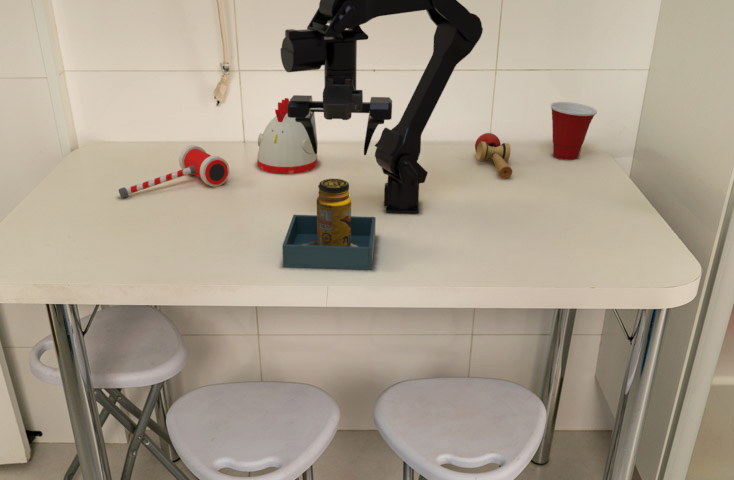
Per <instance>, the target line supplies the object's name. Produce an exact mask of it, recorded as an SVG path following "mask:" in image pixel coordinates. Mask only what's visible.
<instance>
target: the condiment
mask: <svg viewBox="0 0 734 480" xmlns="http://www.w3.org/2000/svg"><path fill="white" fill-rule="evenodd" d="M316 215H317V241H314V242H310V243H307V244H302V245H321V246H355V247H358V246H356V245H354V244H352V243H351V216H352V197H351V195H350V184H349V182H348V181H347V180H345V179H342V178H326V179H323V180H321V181H320V182H319V184H318V196H317V198H316Z"/></svg>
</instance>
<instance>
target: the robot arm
mask: <svg viewBox="0 0 734 480" xmlns="http://www.w3.org/2000/svg"><path fill="white" fill-rule="evenodd" d="M318 6H319V7H318V9H317V10H316V12H315V13H314V15H313V16H312V18H311V20H310V22H309V23H308V25H307V26H306V29H294V28H288V29H285V30H284V32H285V33H284V38H283V39H282V42H281V48H280V51H279V52H280V59H281V63H282V67H283V69H284V71H285V72H286V73H297V72H307V71H317V70H320V69H321V68H322V66H324V67H323V68H324V70H323V72H324V73H323V74H324V75H323V76H324V88H323V91H322V101H321V100H313V96H312V95H299V94H298V95H297V94H294V95H292V96H291V98H290V99H289V103H288V117H290V118H295V121H296V122H300V123H301V124H302V125H303V126H304V128H305V130H306V132H307V134H308V136H309V139H310V142H311V145H312V147H313V150H314V153H315V154H317V155H318V136H317V135H318V134H317V125H316V117H315V116H316V115H315V113H323V118H324V119H325V120H329V121H332V120H342V121H349V120H350V119H351V118H352V114H368V117H367V118H368V119H367V124H366V132H365V139H364V145H363V156H367V153H368V150H369V147H370V145H371V140H372V138H373V136H374V133H375V132H376V130H377V128H378V126H379V125H383V124H385V121H389V120H390V121H391V120H392V116H393V100H392V99H391V97H390V96H389V97H388V96H371V97H370V101H367V102H365V101H364V94H363V93H364V91H363V89H357V71H358V70H357V59H358V58H357V57H358V56H357V55H358V54H357V53H358V50H357V49H358V48H357V47H358V41H367V40H368V39H369V35H368V34H367V33H366V32H365V31H363V29H362V27H361V25H365V24H367V23H368V22H370V21H371V20H374V19H376V18H378V17H384V16H391V15H399V14H406V13H413V12H421V11H426V13H427V15H428V17H429V19H430V20H431V21H432V23H434V24H435V26H436V28H435V31H434V34H433V49H432V55H431V57H430V59H429V60H428V63H427V65H426V67H425V69H424V72H423V73H422V75H421V76H420V78H419V81H418V83H417V85H416V88H414V91H413V93H412V96H411V98H410V100H409V101H408V103H407V106H406V108H405V109H404V112H403V113H402V116H401V118H400V120H399V121H398V123H397V124H396V125H395V126H393V128H392V129H390V128H388V127H384V128H383V130H382V132H381V135H380V136H379V137H380V138H379V139H378V141H377V142H376V143H375V144H374V147H375V153H374V157H375V161H376V163H377V165H378V166H379V167H380V168H381V170H382V173H383V174H384V175H385V176H387V182H385V183H384V189H383V190H384V191H383V192H384V193H383V195H384V196H383V206H384V208H385V212H386V213H392V214H394V213H395V214H396V213H398V214H419V212H420V205H419V203H420V201H419V199H420V198H419V196H420V184H424V183H425V181H426V179H427V176H428V171H427V170H426V168H424V167H423V166H422V165H421V164H420V163H419V162H418V161H419V157H420V154H421V149H422V134H423V132H424V130H425V128H426V127H427V125H428V122H429V120H430V118H431V116H432V114H433V112H434V110H435V108H436V106H437V104H438V102H439V100H440V98H441V97H442V94H443V93H444V90H445V88H446V86H447V84H448V82H449V80H450V78H451V76H452V74H453V72H454V70H455V68H456V67H457V65H458V64H459V63H461V62H462V61H463V60H464V59H465V58H466V57H467V56H469V55H470V54H471V52H472V51H473V50H474V48H475V46H476V45H477V44H478V42H479V41H480V40H481V37H482V35H483V33H484V32H483V31H484V28H483V24H482V20H481V19H480V17H479V16H478V15H477V14H475V13H472V12H470V11H469V10H468V8H466V6H464V5H463V4H461V2H459V1H458V0H319V4H318Z"/></svg>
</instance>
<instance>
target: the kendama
mask: <svg viewBox="0 0 734 480" xmlns="http://www.w3.org/2000/svg"><path fill="white" fill-rule="evenodd" d="M474 149H475V153H476V154H475V157H476V160H477V161H478V162H484V161H485V160H492V162H493V164H494V166H495V168H496V170H497V172H498V176H499V177H500V178H501V179H503V180H506V179H509V178H510V177H512V174H513V169H512V167H511V166H510V165H509V163H508V162H509V160H510V158H511V145H510V143H508V142H502V143H501V140H500V139H499V137H498V136H497V135H496V134H494V133H491V132H485V133H482V134H480V136H478V137H477V139H476V140H475V143H474Z"/></svg>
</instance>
